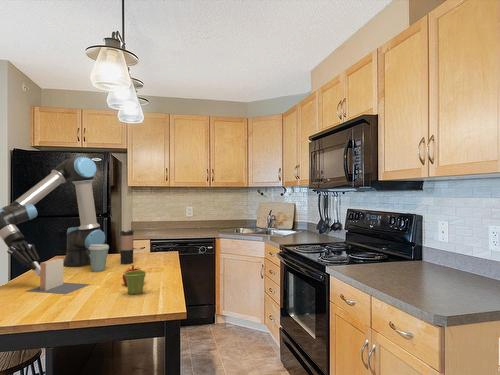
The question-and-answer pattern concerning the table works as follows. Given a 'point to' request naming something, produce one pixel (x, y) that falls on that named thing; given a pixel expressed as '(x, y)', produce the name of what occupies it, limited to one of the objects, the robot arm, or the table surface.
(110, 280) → the table surface
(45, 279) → the tile
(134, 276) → the plant pot
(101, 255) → the disposable coffee cup
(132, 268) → the pomegranate
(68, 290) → the mat
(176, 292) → the table surface
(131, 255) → the travel mug
